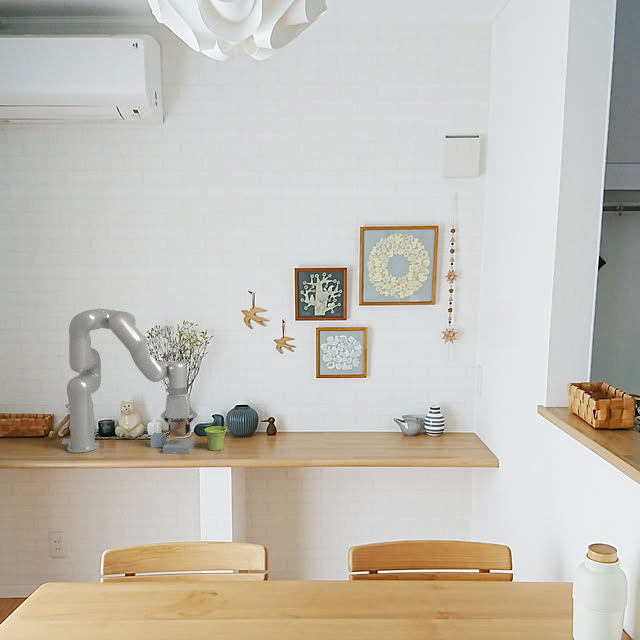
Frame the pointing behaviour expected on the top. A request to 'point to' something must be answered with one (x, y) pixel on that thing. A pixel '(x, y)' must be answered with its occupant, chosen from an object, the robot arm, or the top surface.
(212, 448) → the plant pot
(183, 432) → the walnut block
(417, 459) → the top surface
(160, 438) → the blue block
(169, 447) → the slate base
